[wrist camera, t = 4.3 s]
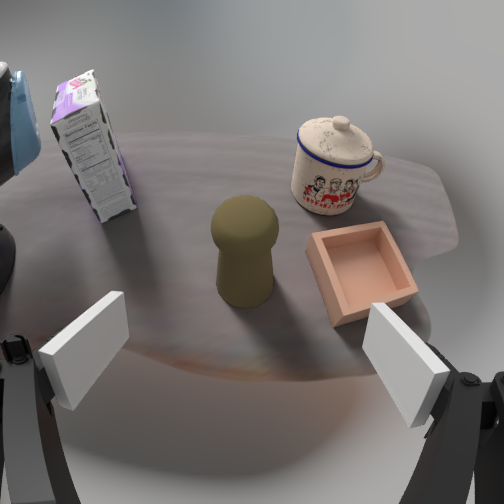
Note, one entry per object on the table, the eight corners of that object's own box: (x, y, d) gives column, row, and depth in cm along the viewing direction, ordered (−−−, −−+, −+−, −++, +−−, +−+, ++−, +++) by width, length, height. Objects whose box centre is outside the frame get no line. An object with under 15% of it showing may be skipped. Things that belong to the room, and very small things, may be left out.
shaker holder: (333, 327, 27) (343, 315, 24) (305, 251, 32) (311, 233, 29) (404, 304, 28) (418, 291, 25) (373, 237, 33) (383, 220, 30)
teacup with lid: (294, 219, 34) (310, 141, 24) (284, 169, 39) (293, 97, 29) (381, 218, 35) (416, 151, 25) (361, 171, 40) (384, 107, 30)
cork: (283, 270, 30) (299, 200, 21) (258, 318, 28) (264, 262, 18) (233, 248, 32) (229, 174, 23) (205, 291, 29) (186, 227, 20)
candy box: (90, 168, 40) (56, 84, 26) (122, 154, 41) (95, 67, 27) (100, 225, 33) (46, 124, 19) (139, 207, 35) (99, 98, 21)
